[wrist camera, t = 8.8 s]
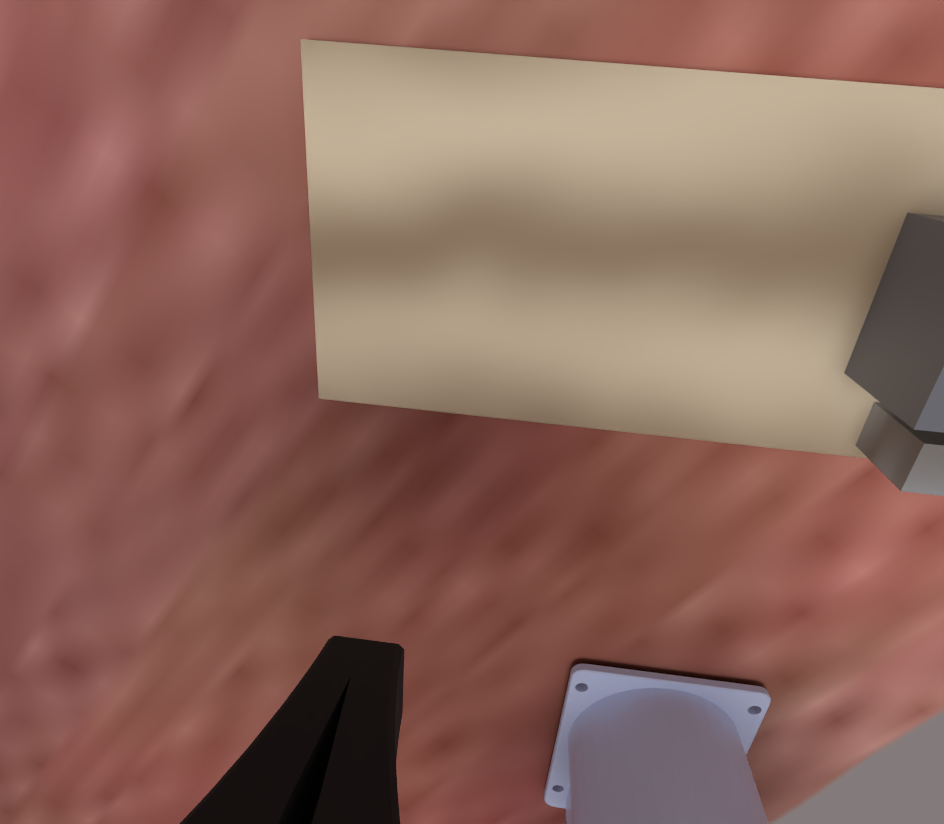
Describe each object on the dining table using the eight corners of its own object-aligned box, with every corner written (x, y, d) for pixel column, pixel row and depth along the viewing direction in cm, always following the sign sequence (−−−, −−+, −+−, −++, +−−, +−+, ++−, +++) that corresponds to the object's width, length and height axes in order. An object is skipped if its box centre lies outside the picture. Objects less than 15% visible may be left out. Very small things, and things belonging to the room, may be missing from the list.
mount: (1373, 504, 18) (1526, 574, 15) (324, 391, 20) (290, 435, 17) (1709, 149, 13) (2014, 157, 11) (308, 42, 15) (258, 24, 12)
